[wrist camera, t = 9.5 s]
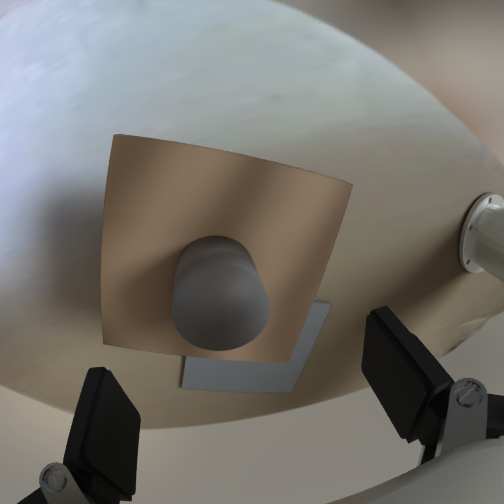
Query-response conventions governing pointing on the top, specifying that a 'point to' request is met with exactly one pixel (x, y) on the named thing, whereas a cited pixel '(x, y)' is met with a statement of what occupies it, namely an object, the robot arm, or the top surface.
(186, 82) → the top surface
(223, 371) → the rubber mat
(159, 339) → the walnut lid
